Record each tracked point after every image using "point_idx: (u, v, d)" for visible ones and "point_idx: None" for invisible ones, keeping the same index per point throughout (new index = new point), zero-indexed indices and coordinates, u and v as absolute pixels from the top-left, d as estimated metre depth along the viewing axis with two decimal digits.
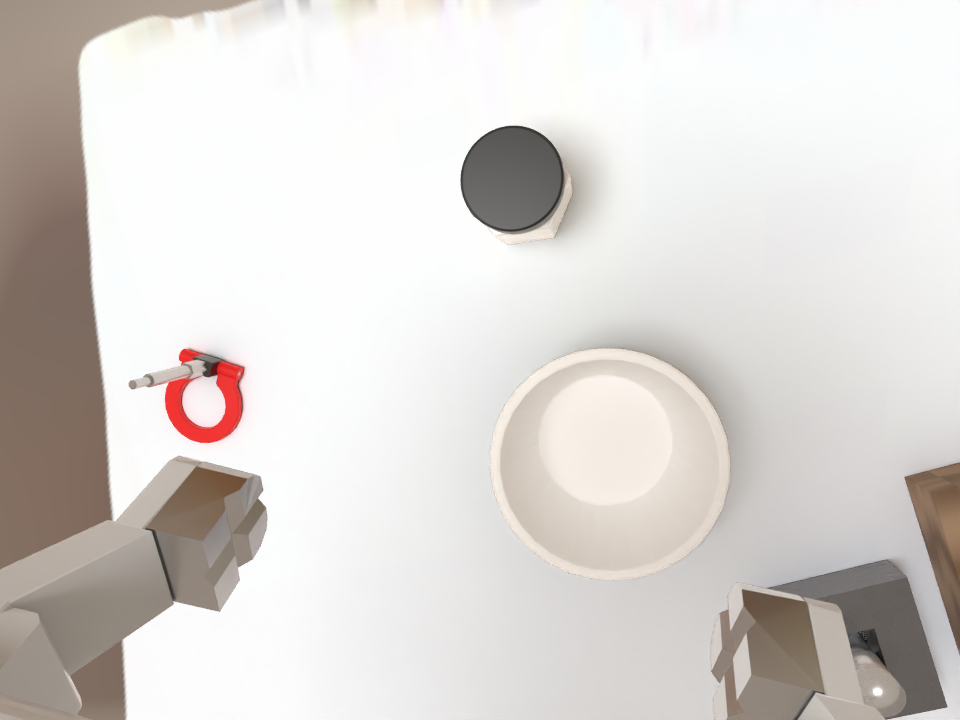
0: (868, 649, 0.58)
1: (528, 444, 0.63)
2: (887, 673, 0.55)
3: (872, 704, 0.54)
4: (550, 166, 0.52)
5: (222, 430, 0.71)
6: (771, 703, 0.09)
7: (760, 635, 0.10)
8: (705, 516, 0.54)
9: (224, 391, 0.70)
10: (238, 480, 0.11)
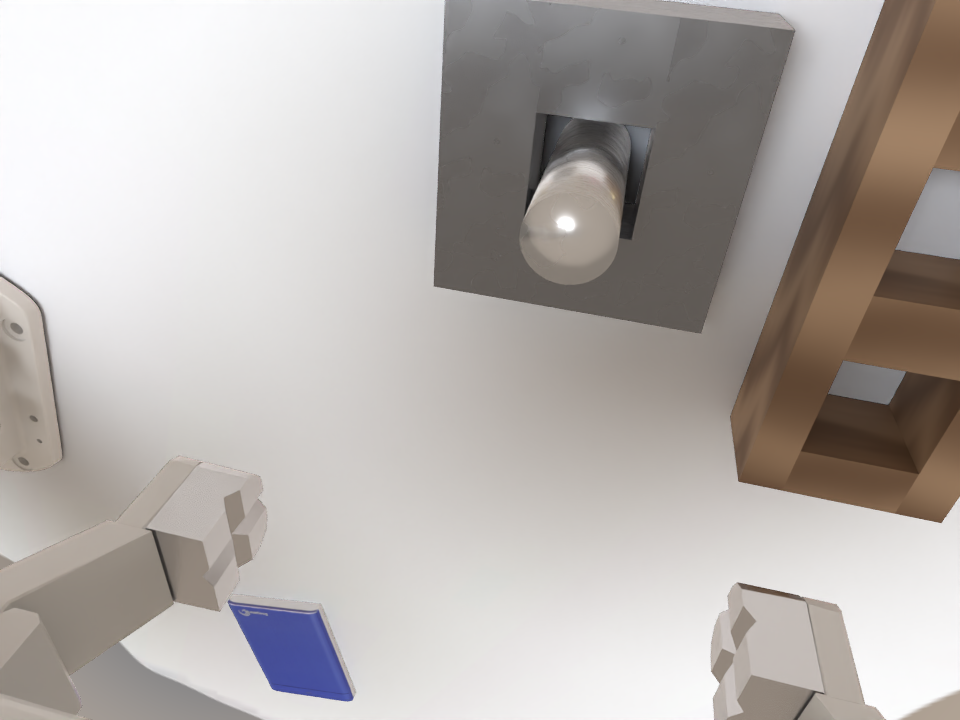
0: (615, 161, 0.25)
1: None
2: (608, 197, 0.22)
3: (537, 243, 0.22)
4: None
5: None
6: (771, 703, 0.09)
7: (760, 635, 0.10)
8: None
9: None
10: (238, 480, 0.11)
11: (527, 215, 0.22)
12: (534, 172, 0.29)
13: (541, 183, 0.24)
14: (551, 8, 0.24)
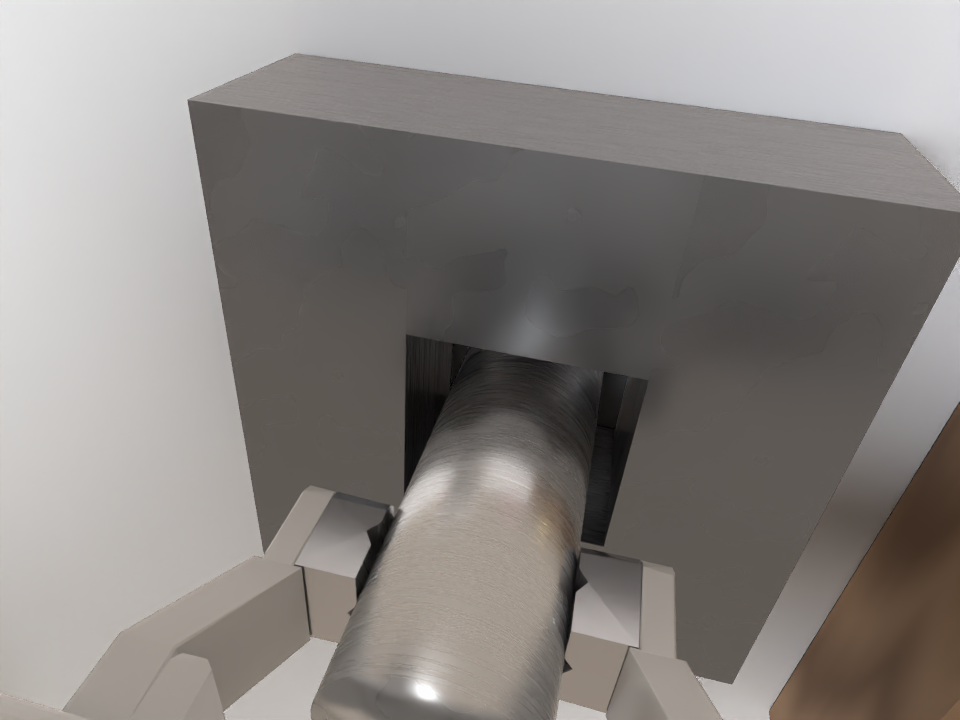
0: (562, 452, 0.12)
1: None
2: (527, 642, 0.09)
3: None
4: None
5: None
6: (594, 659, 0.10)
7: (589, 595, 0.10)
8: None
9: None
10: (376, 511, 0.11)
11: (321, 696, 0.09)
12: (428, 399, 0.16)
13: (388, 542, 0.10)
14: (414, 144, 0.11)
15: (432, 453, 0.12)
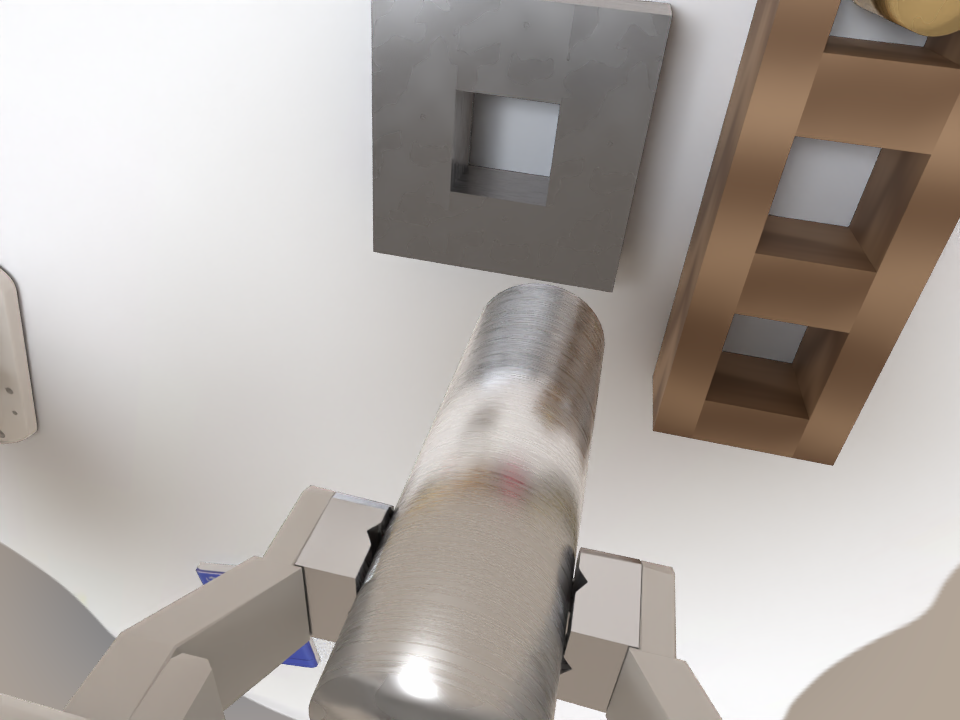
0: (560, 449, 0.12)
1: None
2: (524, 639, 0.09)
3: None
4: None
5: None
6: (594, 659, 0.10)
7: (588, 595, 0.10)
8: None
9: None
10: (376, 512, 0.11)
11: (318, 694, 0.09)
12: (461, 146, 0.32)
13: (386, 540, 0.10)
14: None
15: (430, 451, 0.12)
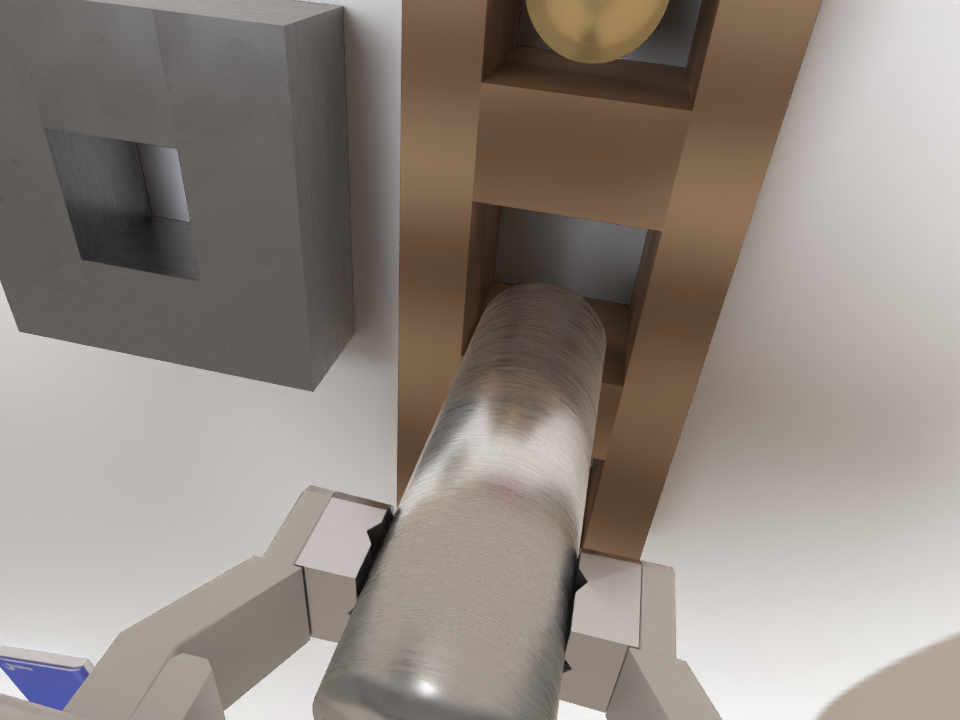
0: (563, 448, 0.12)
1: None
2: (528, 637, 0.09)
3: None
4: None
5: None
6: (594, 659, 0.10)
7: (588, 595, 0.10)
8: None
9: None
10: (376, 511, 0.11)
11: (322, 692, 0.09)
12: (105, 198, 0.24)
13: (389, 538, 0.10)
14: None
15: (432, 450, 0.12)
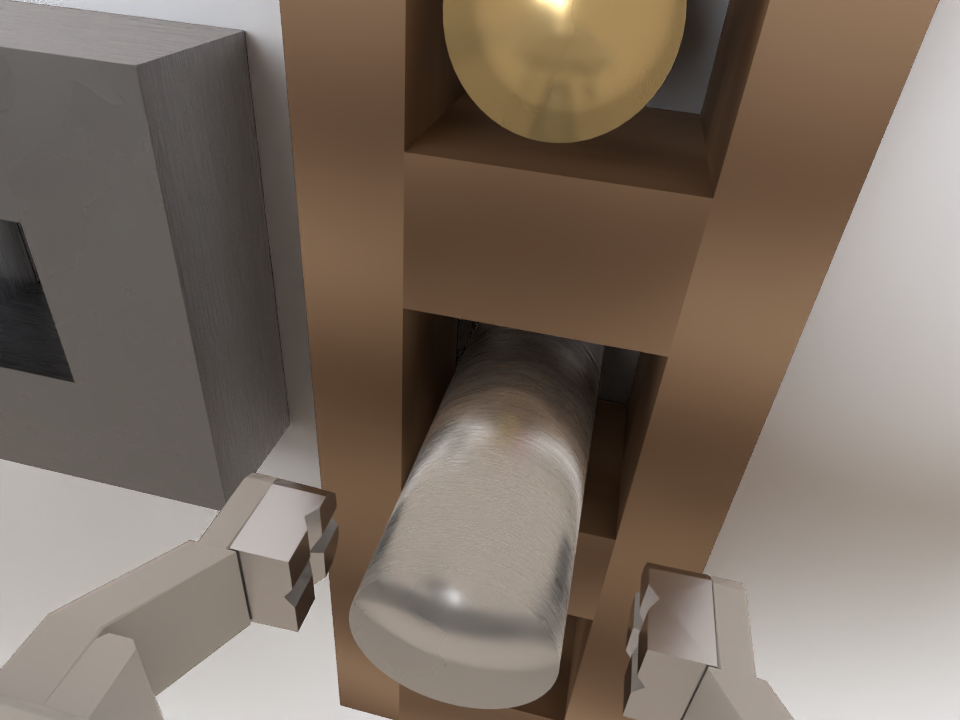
0: (569, 399, 0.13)
1: None
2: (540, 551, 0.10)
3: (388, 641, 0.10)
4: None
5: None
6: (669, 678, 0.10)
7: (661, 612, 0.10)
8: None
9: None
10: (316, 498, 0.11)
11: (359, 597, 0.10)
12: None
13: (413, 474, 0.12)
14: None
15: (451, 401, 0.13)
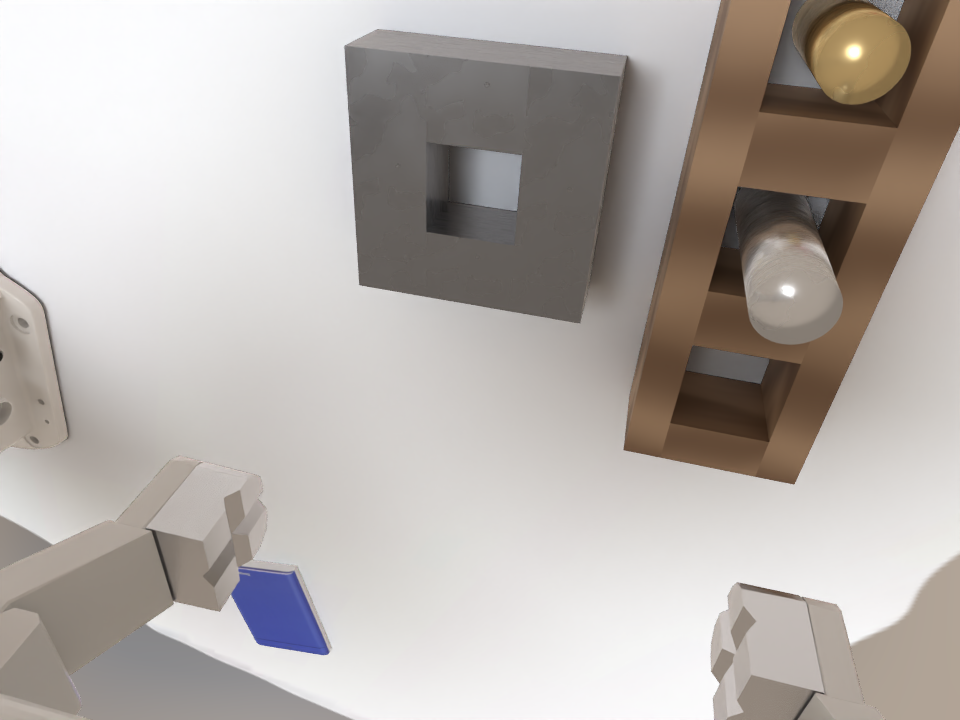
0: (815, 228, 0.28)
1: None
2: (830, 270, 0.25)
3: (765, 310, 0.26)
4: None
5: None
6: (771, 703, 0.09)
7: (760, 635, 0.10)
8: None
9: None
10: (238, 480, 0.11)
11: (760, 287, 0.25)
12: (437, 188, 0.34)
13: (758, 253, 0.27)
14: (428, 59, 0.29)
15: (759, 229, 0.28)
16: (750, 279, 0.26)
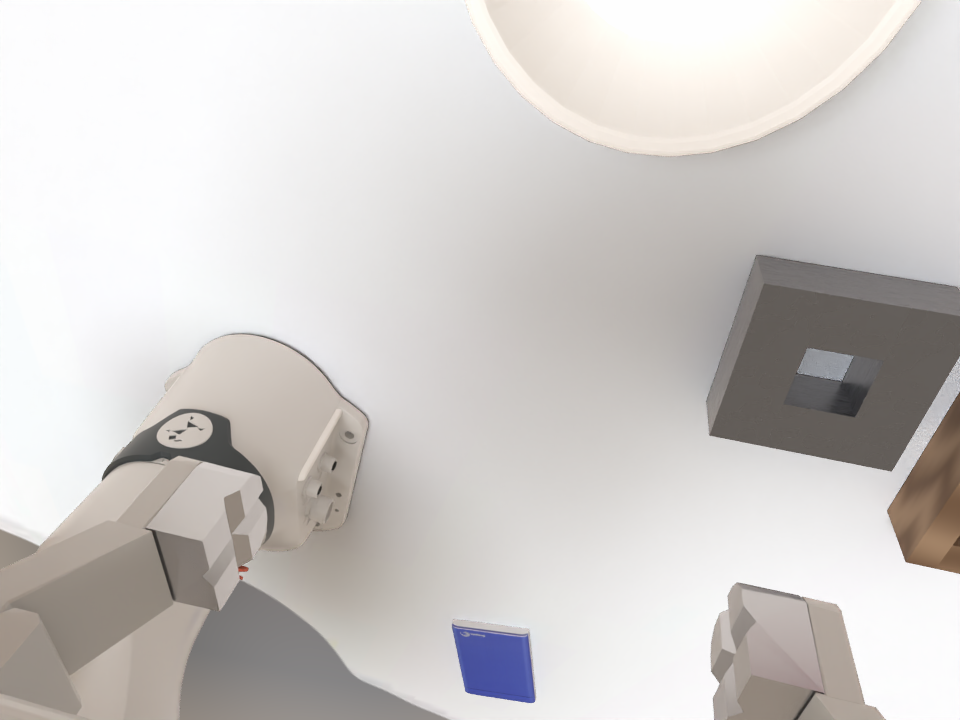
0: None
1: None
2: None
3: None
4: None
5: None
6: (771, 703, 0.09)
7: (760, 635, 0.10)
8: (802, 93, 0.29)
9: None
10: (238, 480, 0.11)
11: None
12: None
13: None
14: (830, 297, 0.40)
15: None
16: None
